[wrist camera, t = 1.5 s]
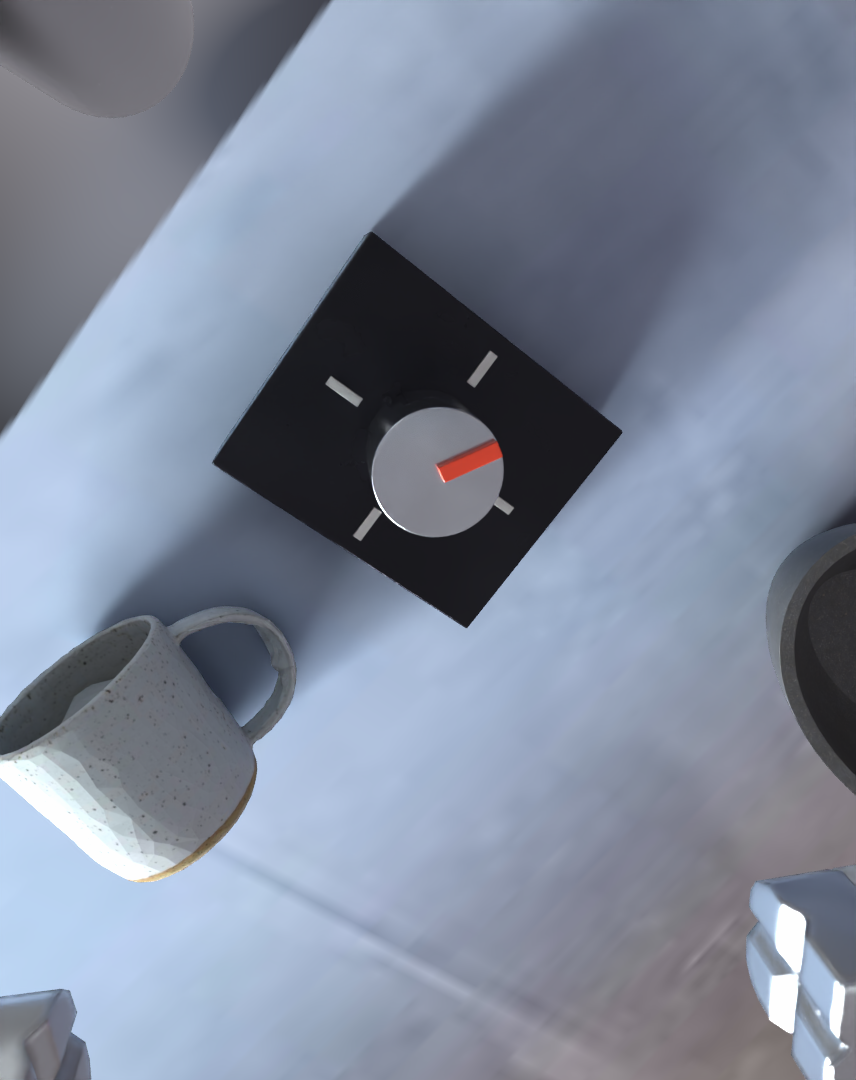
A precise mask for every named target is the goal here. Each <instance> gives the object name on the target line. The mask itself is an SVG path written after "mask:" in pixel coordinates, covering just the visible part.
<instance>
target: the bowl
mask: <svg viewBox="0 0 856 1080" xmlns="http://www.w3.org/2000/svg"><path fill="white" fill-rule="evenodd" d="M766 632H767V639H768V645H769V651H770V655H771V659H772V663H773V667H774V670H775V673H776V675H777V678H778V681H779V684H780V686H781V689H782V691H783V693H784V696H785V698H786V700H787V702H788V704H789V707H790V709H791V711H792V713H793V715H794V717H795V718H796V720H797V722H798V724H799V726H800V728H801V729H802V731H803V733H804V735H805V736H806V738H807V740H808V741H809V743H810V744H811V746H812V747H813V749H814V750H815V752H816V753H817V754H818V755H819V757H820V758H821V759H822V760H823V762H824V763H825V764H826V766H827V767H828V768H829V769H830V770H831V771H832V772H833V773H834V775H835V776H836V777H837V778H838V779H839V780H840V781H841V782H842V783H843V784H844V785H845V786H846V787H847V788H848V789H849V790H850V791H851V792H853V793H854V794H855V795H856V523H852V524H847V525H844V526H840V527H837V528H834V529H831V530H828V531H825V532H823V533H821V534H819V535H816V536H814V537H813V538H811V539H809V540H807V541H806V542H804V543H803V544H801V545H800V546H799V547H797V548H796V549H795V550H794V551H793V552H792V553H791V554H790V555H789V556H788V557H787V558H786V559H785V560H784V562H783V563H782V564H781V565H780V567H779V569H778V570H777V572H776V574H775V576H774V579H773V581H772V583H771V587H770V590H769V593H768V599H767V606H766Z"/></svg>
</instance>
